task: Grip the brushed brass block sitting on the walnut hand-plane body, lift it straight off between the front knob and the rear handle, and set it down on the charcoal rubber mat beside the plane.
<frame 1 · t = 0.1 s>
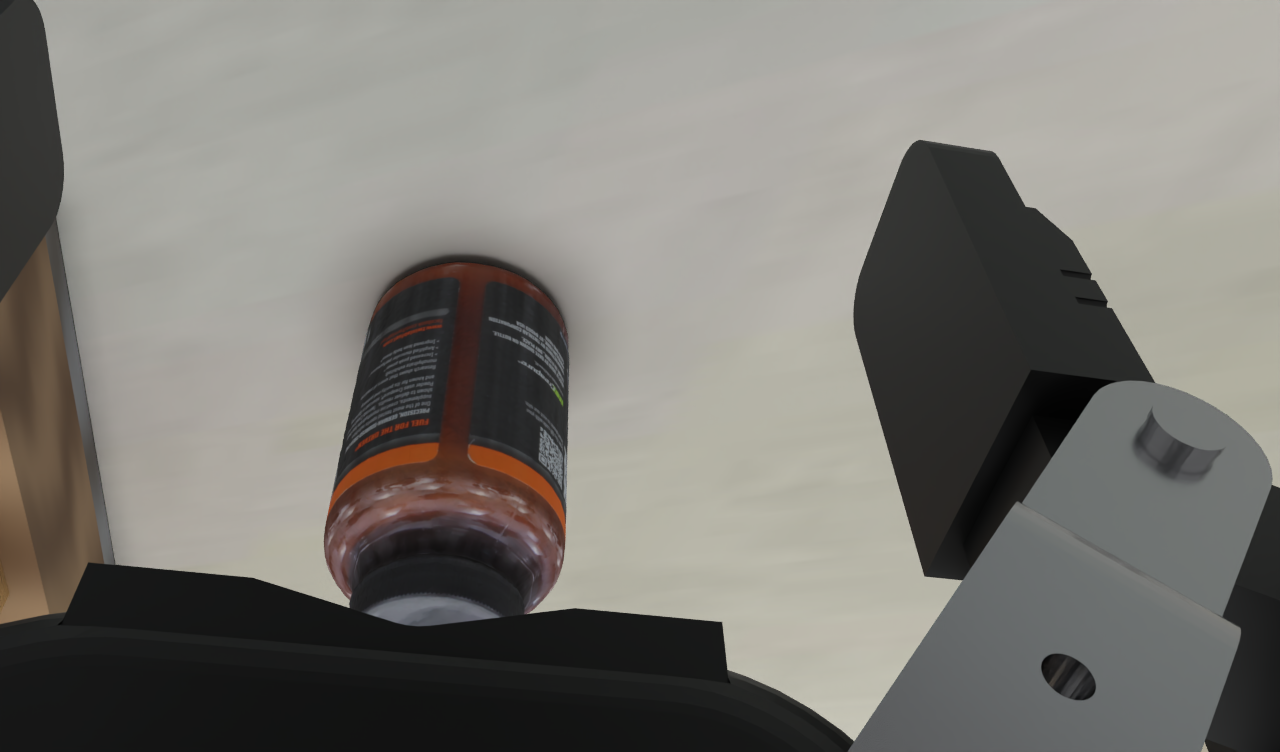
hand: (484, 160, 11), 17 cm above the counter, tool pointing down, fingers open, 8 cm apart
supplement bottle: (472, 329, 35), on the counter
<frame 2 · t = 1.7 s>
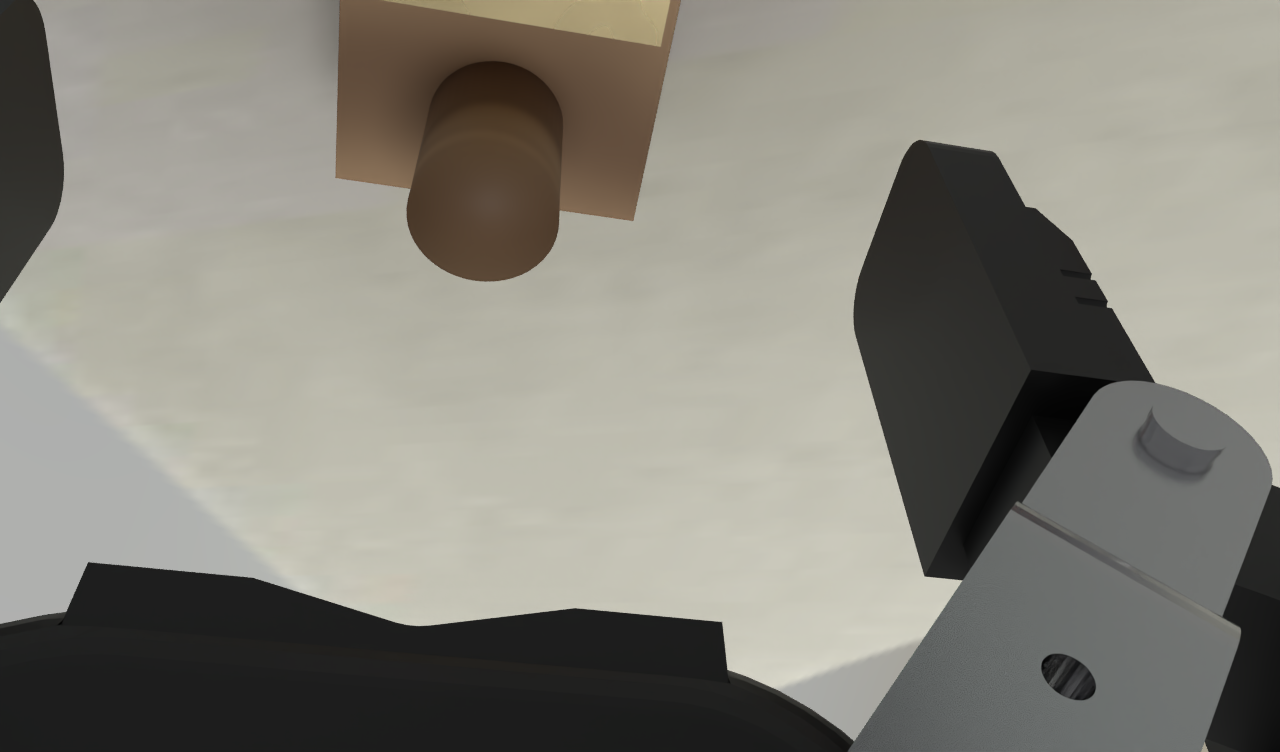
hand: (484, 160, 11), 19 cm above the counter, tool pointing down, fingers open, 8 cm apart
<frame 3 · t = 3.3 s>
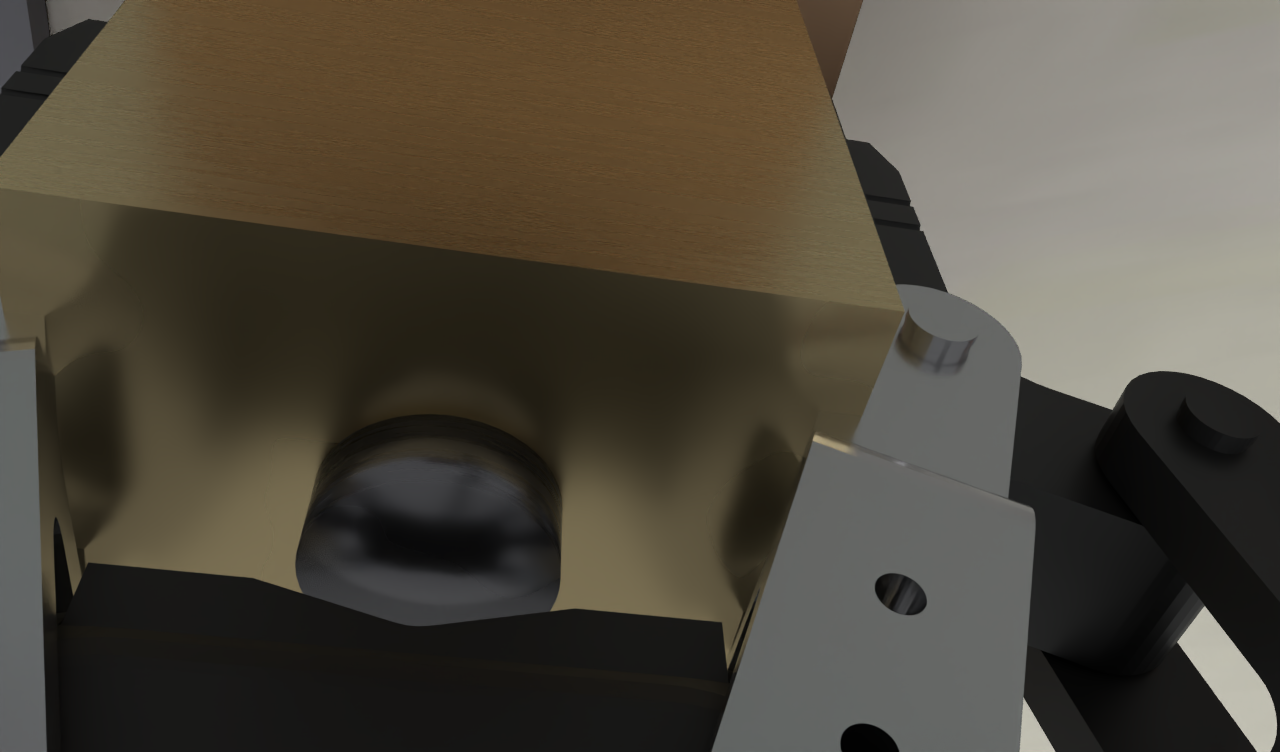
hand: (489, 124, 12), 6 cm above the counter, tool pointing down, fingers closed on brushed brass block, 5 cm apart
brushed brass block: (497, 91, 12), point 5 cm above the counter, touching gripper, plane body
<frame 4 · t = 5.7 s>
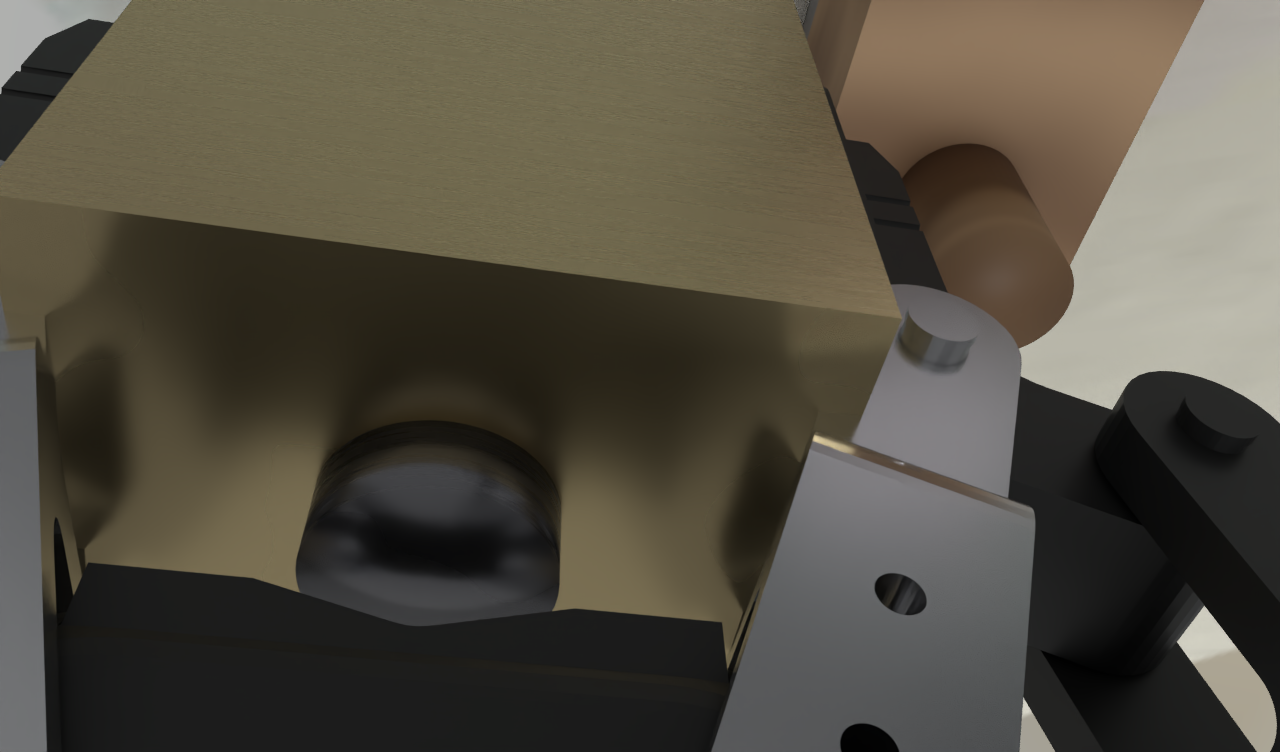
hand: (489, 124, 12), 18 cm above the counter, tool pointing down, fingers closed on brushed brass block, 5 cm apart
brushed brass block: (497, 96, 12), point 17 cm above the counter, touching gripper
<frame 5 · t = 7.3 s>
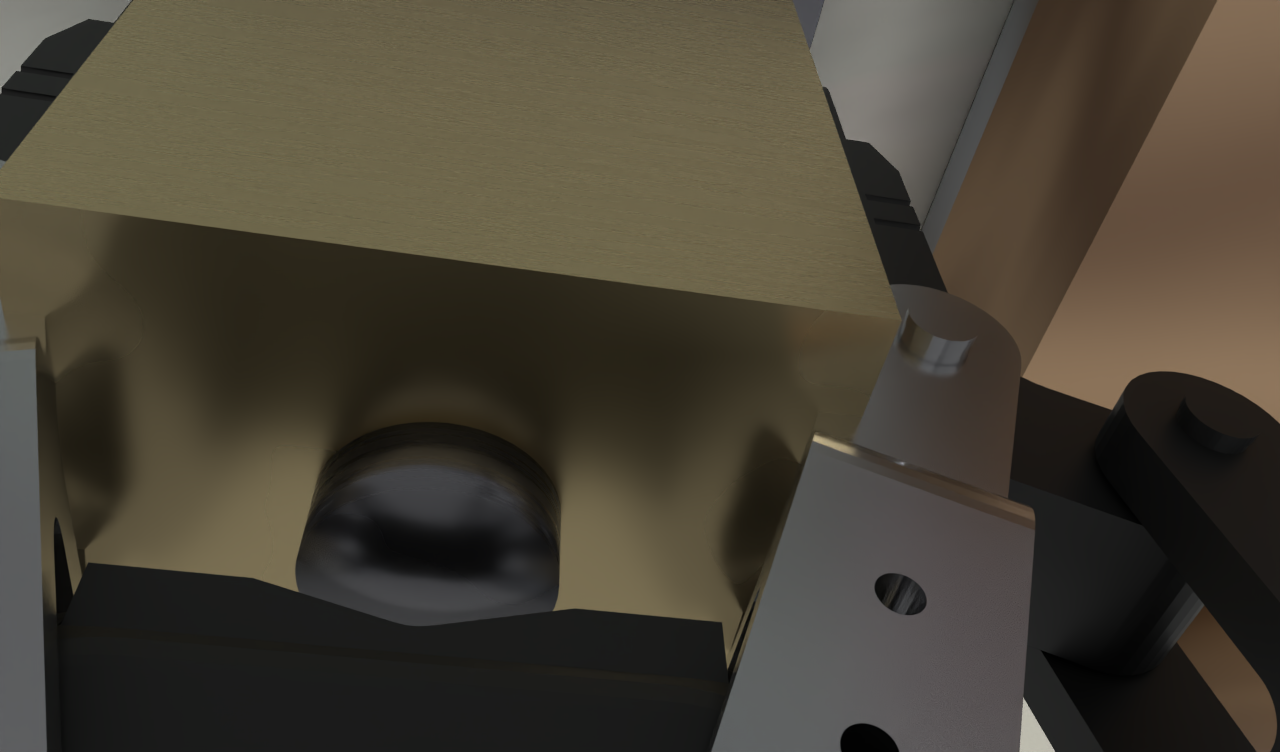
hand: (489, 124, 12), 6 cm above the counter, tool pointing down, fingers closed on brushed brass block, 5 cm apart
brushed brass block: (497, 97, 12), point 6 cm above the counter, touching gripper
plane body: (1229, 32, 18), on the counter
when the fingers open (3 cm above the counter, at t = 8.4 s): brushed brass block drops 2 cm, resting on mat.
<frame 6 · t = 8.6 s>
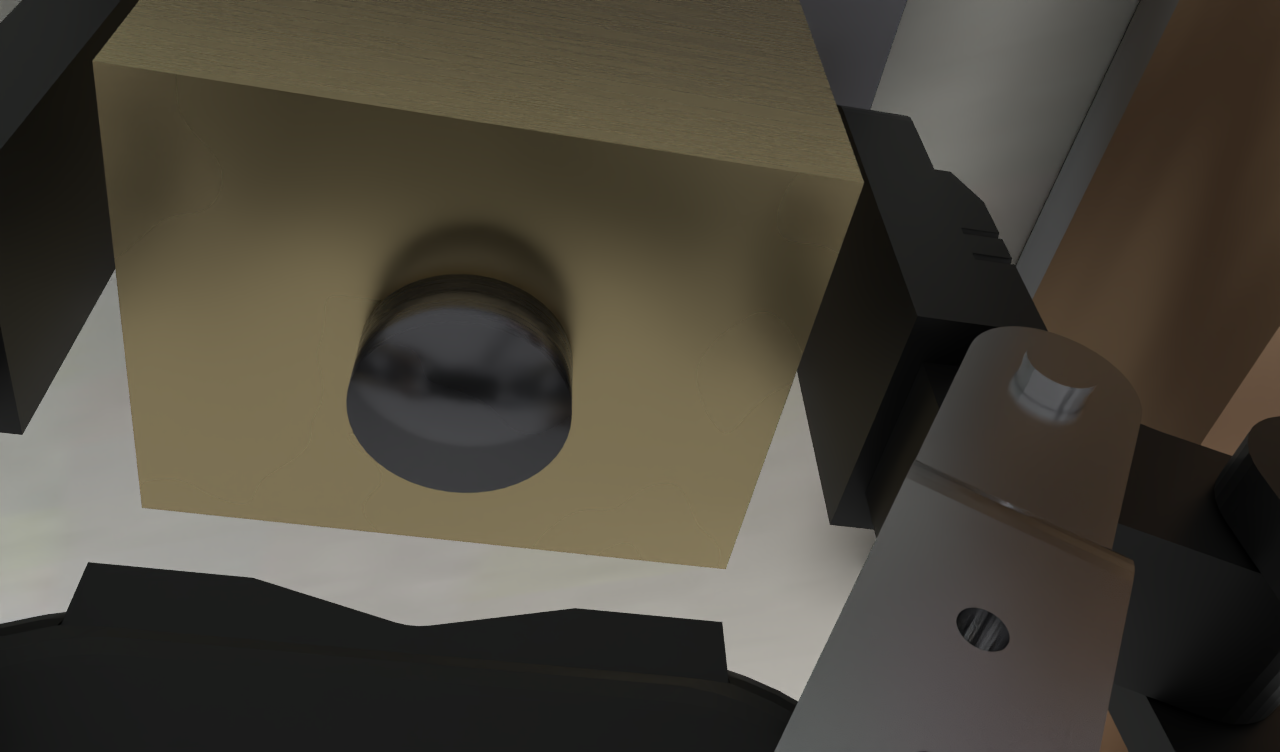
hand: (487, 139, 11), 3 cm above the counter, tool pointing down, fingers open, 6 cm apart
mat: (505, 12, 14), on the counter
brushed brass block: (510, 35, 13), point 1 cm above the counter, touching mat
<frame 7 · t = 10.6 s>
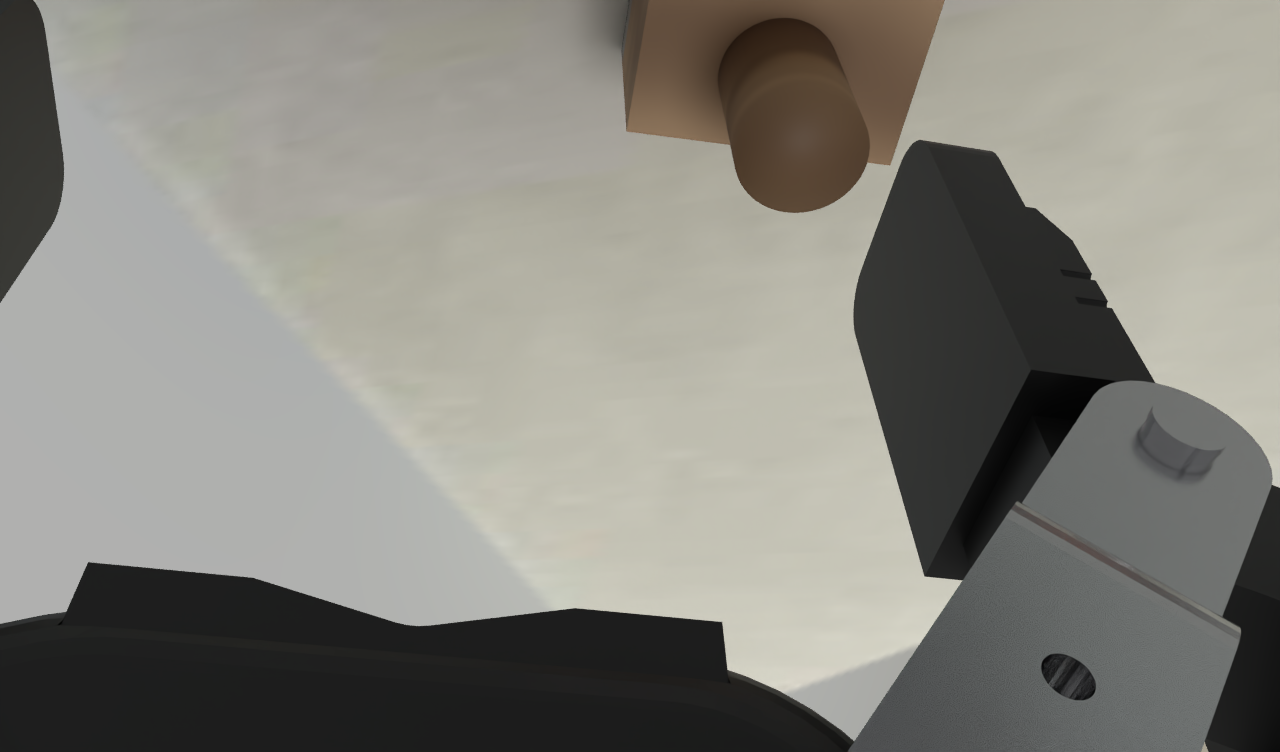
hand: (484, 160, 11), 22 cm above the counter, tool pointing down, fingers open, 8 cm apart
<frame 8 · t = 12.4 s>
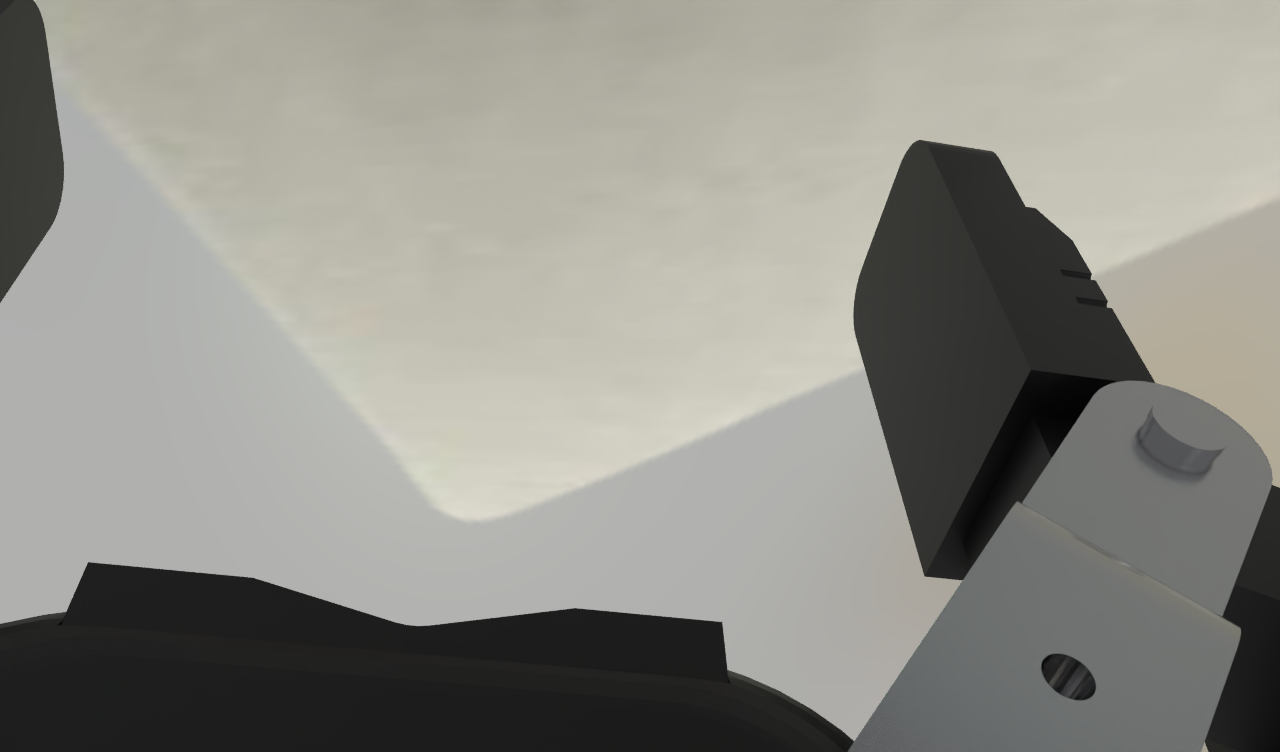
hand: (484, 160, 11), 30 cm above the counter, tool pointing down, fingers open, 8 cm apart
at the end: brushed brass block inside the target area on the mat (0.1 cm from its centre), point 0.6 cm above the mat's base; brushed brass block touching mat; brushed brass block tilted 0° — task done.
